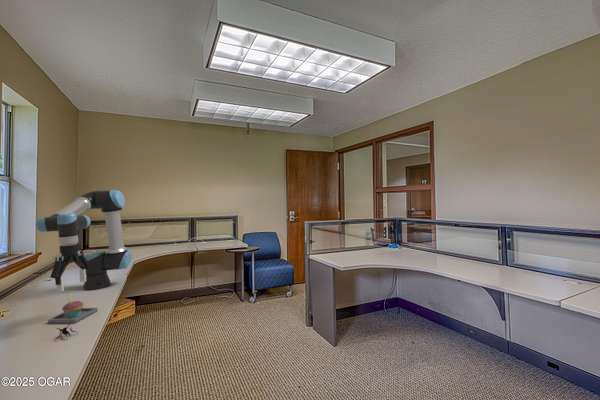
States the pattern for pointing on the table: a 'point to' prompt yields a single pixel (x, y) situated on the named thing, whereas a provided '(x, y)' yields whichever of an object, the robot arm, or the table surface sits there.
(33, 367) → the table surface
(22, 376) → the table surface
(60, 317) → the tray
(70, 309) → the cupcake
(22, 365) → the table surface
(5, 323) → the table surface
